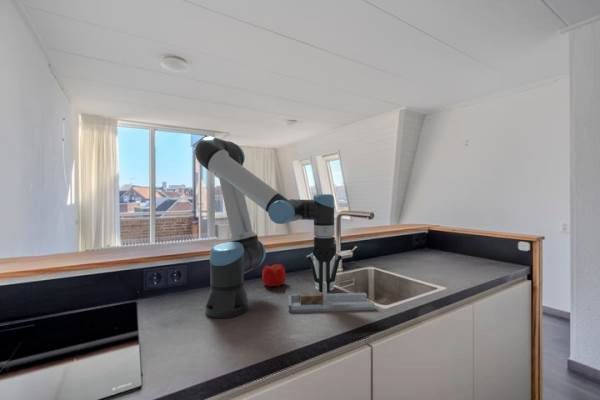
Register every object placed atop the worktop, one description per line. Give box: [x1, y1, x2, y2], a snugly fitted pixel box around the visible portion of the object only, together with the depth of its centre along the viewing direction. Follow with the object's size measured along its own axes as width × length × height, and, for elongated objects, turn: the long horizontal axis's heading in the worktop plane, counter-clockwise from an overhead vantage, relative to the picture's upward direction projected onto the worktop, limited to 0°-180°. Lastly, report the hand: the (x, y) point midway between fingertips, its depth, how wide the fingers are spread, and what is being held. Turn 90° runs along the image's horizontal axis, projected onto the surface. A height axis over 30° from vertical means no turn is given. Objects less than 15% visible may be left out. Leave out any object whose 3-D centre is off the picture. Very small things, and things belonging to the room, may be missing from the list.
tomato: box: [261, 263, 287, 288], centre depth 127 cm, size 11×12×9 cm
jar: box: [313, 256, 338, 291], centre depth 120 cm, size 11×10×15 cm
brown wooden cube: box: [310, 291, 323, 304], centre depth 102 cm, size 4×4×4 cm
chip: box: [299, 291, 312, 305], centre depth 101 cm, size 4×4×4 cm
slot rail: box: [287, 292, 376, 313], centre depth 102 cm, size 30×11×3 cm, turn 93°
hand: (324, 300), depth 102 cm, fingers closed
